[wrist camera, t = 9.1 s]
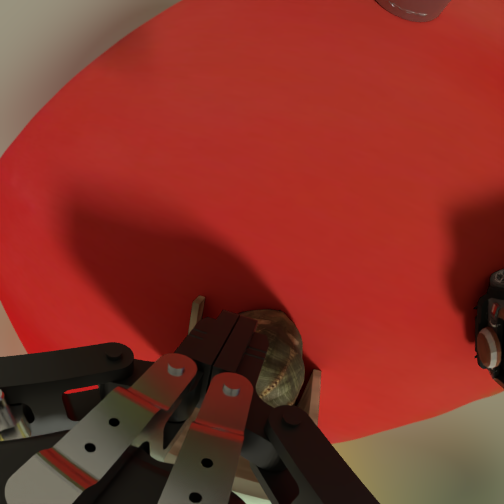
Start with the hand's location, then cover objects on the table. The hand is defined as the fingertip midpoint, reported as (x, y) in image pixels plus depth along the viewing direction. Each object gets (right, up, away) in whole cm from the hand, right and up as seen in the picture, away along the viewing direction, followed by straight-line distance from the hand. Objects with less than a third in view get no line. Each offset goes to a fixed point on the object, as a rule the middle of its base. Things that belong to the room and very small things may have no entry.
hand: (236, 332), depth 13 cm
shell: (+2, -7, +24) cm, 25 cm away
